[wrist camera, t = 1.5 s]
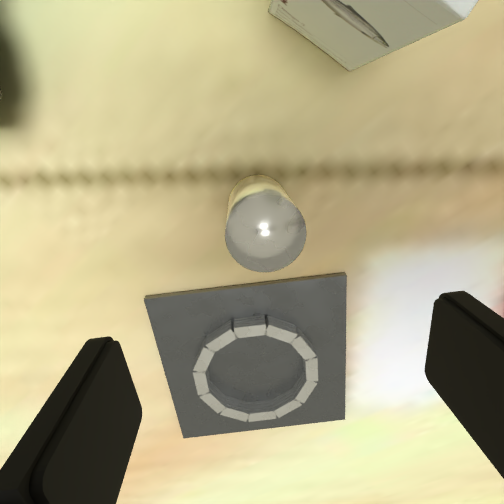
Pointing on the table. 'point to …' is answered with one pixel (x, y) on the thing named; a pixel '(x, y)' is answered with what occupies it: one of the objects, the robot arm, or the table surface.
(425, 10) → the supplement box
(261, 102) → the table surface
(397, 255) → the table surface
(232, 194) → the piston
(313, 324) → the ring mat
